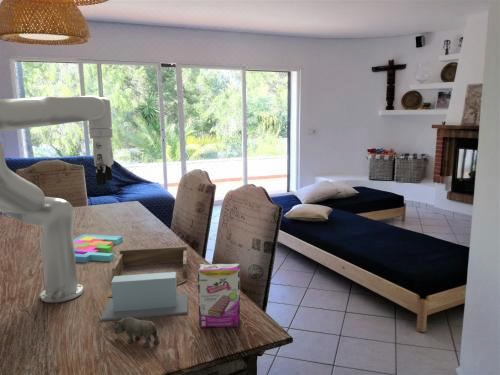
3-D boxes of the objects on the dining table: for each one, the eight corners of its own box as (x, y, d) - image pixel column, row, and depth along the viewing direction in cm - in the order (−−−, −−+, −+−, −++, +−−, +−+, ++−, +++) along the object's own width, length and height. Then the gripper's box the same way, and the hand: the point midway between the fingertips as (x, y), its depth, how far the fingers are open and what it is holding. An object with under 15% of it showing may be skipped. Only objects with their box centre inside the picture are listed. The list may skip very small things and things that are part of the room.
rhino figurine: (118, 331, 106) (116, 310, 105) (162, 340, 101) (160, 318, 100) (107, 339, 102) (105, 317, 101) (152, 349, 97) (151, 326, 96)
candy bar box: (199, 328, 106) (196, 270, 103) (200, 319, 111) (198, 263, 108) (241, 327, 106) (239, 269, 104) (240, 318, 111) (239, 262, 109)
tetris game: (43, 260, 161) (106, 265, 155) (42, 254, 160) (105, 258, 154) (84, 239, 188) (139, 243, 182) (84, 234, 187) (139, 237, 181)
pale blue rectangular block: (176, 306, 118) (175, 277, 116) (113, 311, 115) (111, 282, 113) (177, 299, 122) (175, 271, 120) (116, 304, 119) (114, 276, 118)
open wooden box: (186, 277, 141) (186, 261, 140) (112, 282, 137) (111, 265, 136) (187, 260, 157) (186, 245, 156) (121, 264, 154) (120, 249, 153)
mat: (187, 313, 114) (187, 311, 114) (100, 320, 111) (100, 318, 111) (187, 295, 126) (187, 293, 126) (109, 301, 123) (108, 299, 123)
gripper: (107, 134, 131) (111, 185, 134) (116, 132, 148) (120, 178, 151) (83, 135, 130) (87, 186, 133) (95, 133, 147) (99, 179, 150)
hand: (104, 182), depth 142 cm, fingers open, 9 cm apart
